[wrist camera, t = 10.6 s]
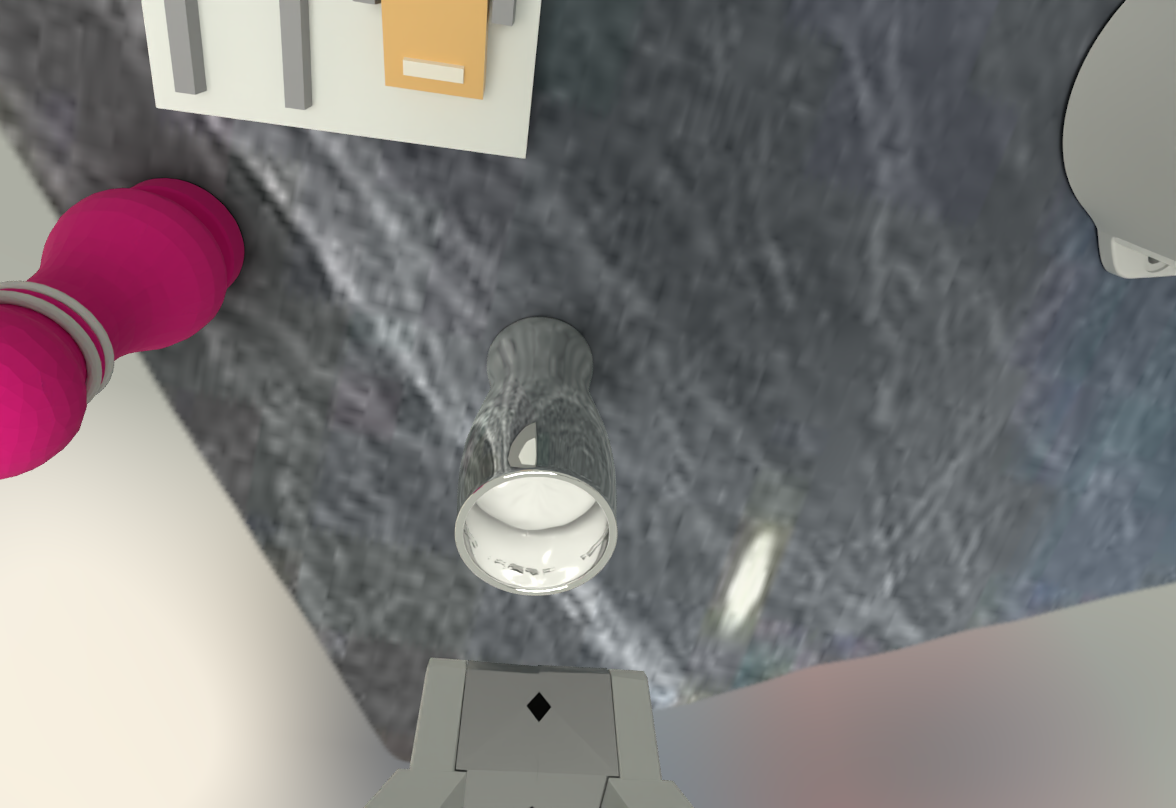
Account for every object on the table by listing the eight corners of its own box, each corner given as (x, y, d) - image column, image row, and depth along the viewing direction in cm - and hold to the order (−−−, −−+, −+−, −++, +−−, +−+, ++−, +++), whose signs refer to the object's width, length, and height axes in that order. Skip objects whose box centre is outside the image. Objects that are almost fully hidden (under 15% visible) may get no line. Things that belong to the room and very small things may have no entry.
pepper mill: (116, 141, 36) (-285, 308, 18) (269, 203, 37) (33, 407, 20) (97, 272, 39) (-259, 518, 22) (239, 323, 41) (13, 587, 24)
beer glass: (453, 365, 43) (412, 539, 30) (538, 283, 40) (533, 434, 27) (541, 436, 45) (539, 624, 32) (625, 363, 43) (658, 534, 30)
